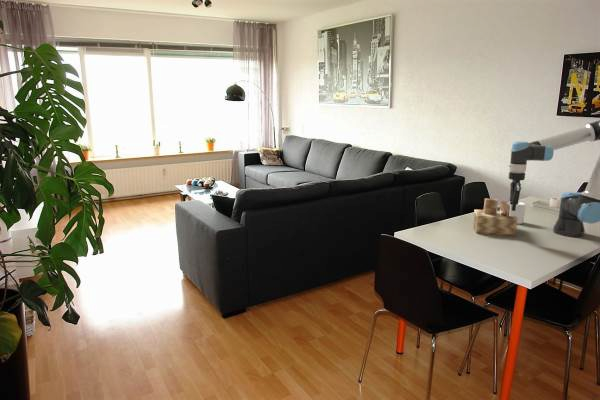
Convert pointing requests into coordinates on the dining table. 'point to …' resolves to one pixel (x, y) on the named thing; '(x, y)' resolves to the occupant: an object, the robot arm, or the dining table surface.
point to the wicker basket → (495, 226)
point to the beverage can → (520, 212)
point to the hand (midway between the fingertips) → (512, 216)
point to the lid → (492, 211)
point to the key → (505, 208)
